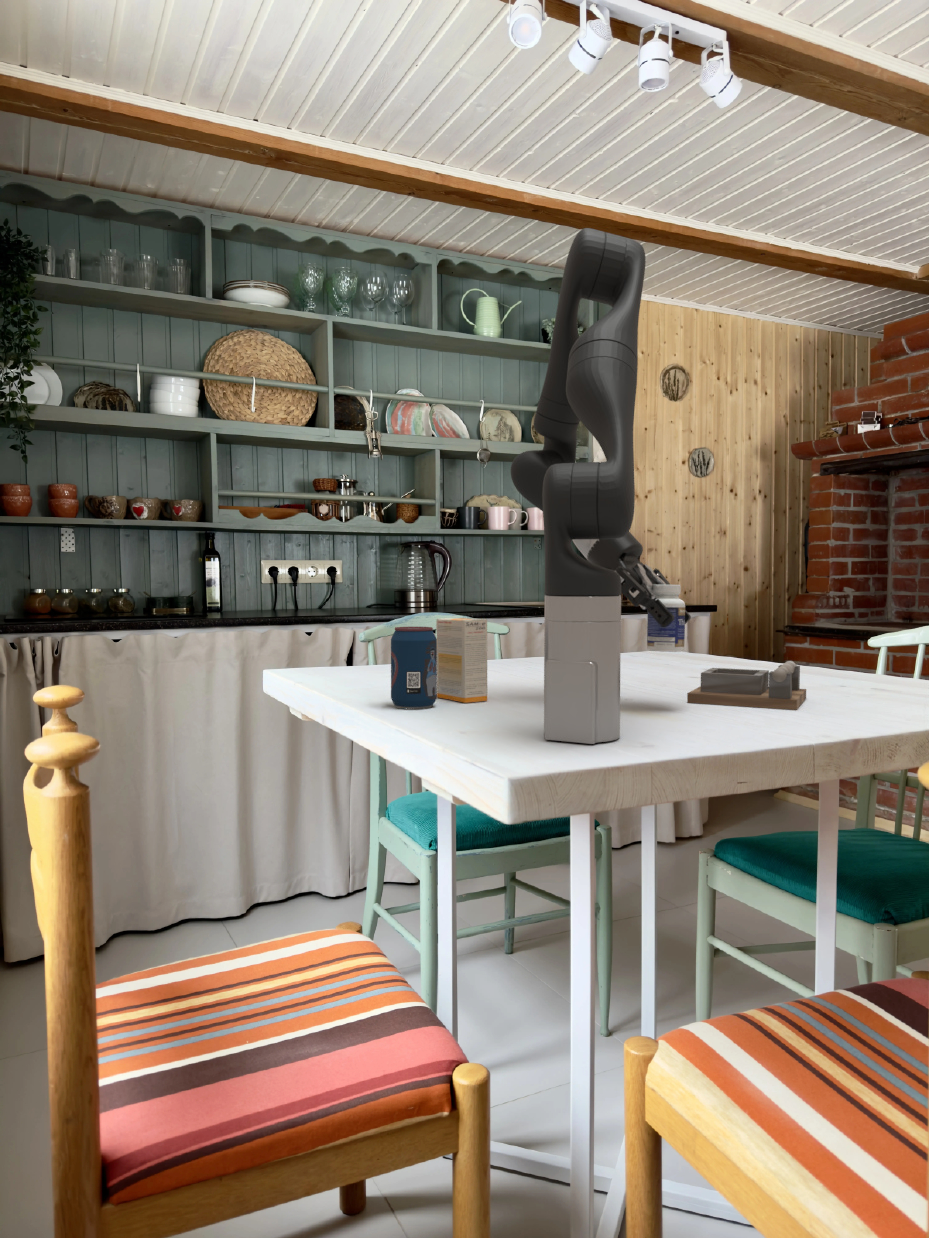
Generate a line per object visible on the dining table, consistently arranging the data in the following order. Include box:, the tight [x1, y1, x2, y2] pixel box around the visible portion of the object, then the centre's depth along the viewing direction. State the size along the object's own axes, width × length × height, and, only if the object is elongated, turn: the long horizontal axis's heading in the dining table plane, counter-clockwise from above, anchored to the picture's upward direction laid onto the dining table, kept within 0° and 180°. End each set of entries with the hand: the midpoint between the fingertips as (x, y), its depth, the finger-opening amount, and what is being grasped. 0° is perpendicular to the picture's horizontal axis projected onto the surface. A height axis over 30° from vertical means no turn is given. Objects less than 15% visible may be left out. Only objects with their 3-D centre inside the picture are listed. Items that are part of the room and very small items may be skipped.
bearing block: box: [686, 660, 807, 711], centre depth 134 cm, size 14×16×6 cm
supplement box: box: [435, 617, 488, 704], centre depth 135 cm, size 8×5×13 cm, turn 35°
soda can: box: [390, 626, 437, 710], centre depth 128 cm, size 7×7×12 cm
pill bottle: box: [646, 584, 686, 653], centre depth 124 cm, size 5×5×10 cm
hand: (677, 622), depth 123 cm, fingers closed on pill bottle, 5 cm apart
